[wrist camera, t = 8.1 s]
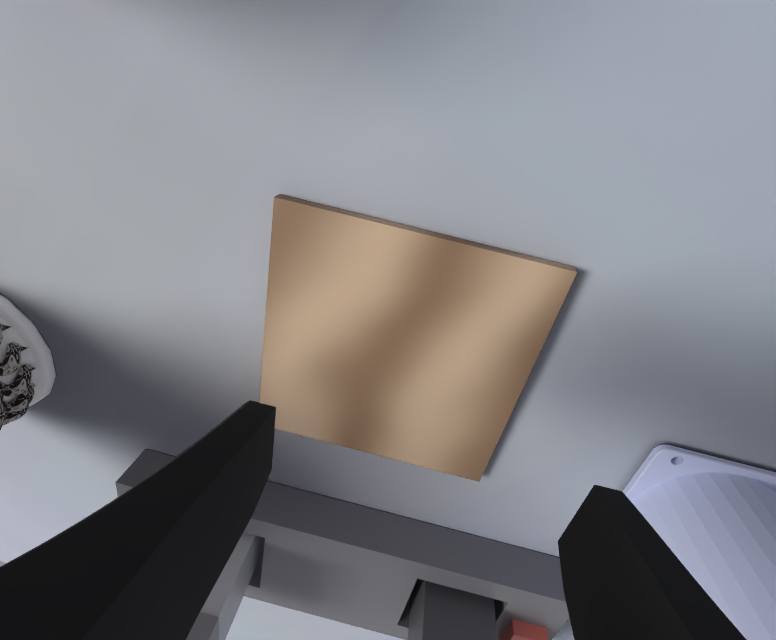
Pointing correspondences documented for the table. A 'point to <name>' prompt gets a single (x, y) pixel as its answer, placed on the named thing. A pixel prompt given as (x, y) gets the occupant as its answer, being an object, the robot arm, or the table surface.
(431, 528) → the power strip
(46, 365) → the decorative candle
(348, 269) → the cork mat
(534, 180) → the table surface
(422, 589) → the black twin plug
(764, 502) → the robot arm
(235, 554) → the grey plug
